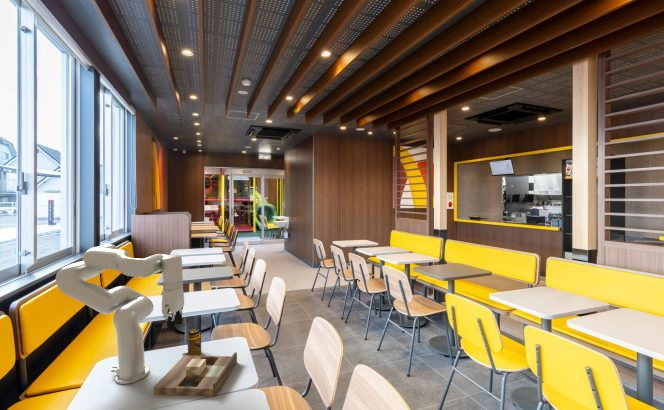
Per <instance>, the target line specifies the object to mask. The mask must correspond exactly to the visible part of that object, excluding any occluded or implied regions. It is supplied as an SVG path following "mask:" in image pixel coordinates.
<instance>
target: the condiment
mask: <svg viewBox="0 0 664 410" xmlns="http://www.w3.org/2000/svg"><path fill="white" fill-rule="evenodd" d="M200 331H201V330H200V329H199V328H191V329H189V330H188V331H187V351H186V352H184V353H181V355H182V357H183V356H184V355H192V356H204V353H203V351H202V335H201V332H200Z"/></svg>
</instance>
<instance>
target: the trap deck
mask: <svg viewBox="0 0 664 410" xmlns="http://www.w3.org/2000/svg"><path fill="white" fill-rule="evenodd" d="M192 359H206V368H205V369H204V370H203V372H202V373H201V374H200V375H186V366H187V364H188V363H189V362H190V361H191V360H192ZM237 364H238V352H237V351H235V352H234V353H233V354H232V355H231V356H230V355H229V356H228V355H227V356H226V355H224V356H223V355H203V356H192V355H184V356H183V355H182V357H181V358H180V359H179V360H178V362H176V364H174V365H173V366H172V367H171V368H170V369H169V371H168V372H167V373H166V374H165V375H164V376H163V377H162V378H161V379H160V380H159V381H158V382H157V383H156V384H155V385H154V386H153V395H154V396H157V395H158V396H181V397H182V396H185V397H186V396H187V397H189V396H190V397H193V396H194V397H217V395H218V394H219V392H220V391H221V389H222V388H223V386H224V385H225V383H226V381H227V380H228V379H229V376H231V373H232V371H233V370H234V369H235V367H236V365H237Z"/></svg>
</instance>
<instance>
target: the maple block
mask: <svg viewBox="0 0 664 410" xmlns="http://www.w3.org/2000/svg"><path fill="white" fill-rule="evenodd" d="M205 368H206V359H192V360H191V361H190V362H189V363H188V364H187V366H186V375H200V374H201V373H202V372H203V370H204V369H205Z"/></svg>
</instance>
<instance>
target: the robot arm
mask: <svg viewBox="0 0 664 410" xmlns="http://www.w3.org/2000/svg"><path fill="white" fill-rule="evenodd" d="M105 270H112V271H113V270H114V271H119V273H121V274H123V275H124V276H126V277H127V276H128V277H132V278H135V277H136V278H149V277H151V276H153V275H155V274H158V273H160V272H162V295H161V314H163V316H162V318H163V319H165V321H166V326H167V327H166V330H167V331H175V330H176V325H182V324H183V309H184V306H185V294H184V293H185V292H184V280H183V278H184V277H183V259H182V256H181V255H179V254H164V253H156V254H153V255H149V256H148V257H144V258H135V257H134V258H133V257H130V253H129V251H127V250H125V249H119V248H118V247H117V246H116V245H114V244H111V243H107V244H103V245H99V246H94V247H91V248H89V249H87V250H86V251H85V252H84V254H83V255H82V260H81V261H77V262H74V263H71V264H68V265H66V266H64V267H61V268H60V269H59V270H58V271H57V272H56V274H55V275H56V276H55V284H56V285H57V288H58V289H59V290H60V292H61V293H62V294H64V295H66V296H68V297H69V298H71V299H74V300H76V301H78V302H80V303H82V304H84V305H85V306H87V307H89V308H91V309H93V311H94V310H95V311H96V312H98V313H99V314H102V315H110V314H112V313H114V314H113V318H112V321H113V322H112V323H113V325H114V328H115V335H116V343H117V344H116V345H117V361H118V364H113V365H112V368H111V370H110V372H111V373H116V375H115V376H114V381H115V383H117V384H119V385H128V384H129V385H130V384H132V383H135V382H139V381H140V380H142V379H144V378H145V377H146V376H147V375H148V374H149V372H150V368H149V366H147V365H146V364H145V362H146V361H145V347H144V345H145V344H144V332H143V330H142V327H141V325H140V322H141V321H143V320H144V319H146V318H147V317H149V316H150V315H151V314H152V313H153V311H154V307H155V306H154V303H153V301H152V300H151V299H150V298H149V297H148V296H146V295H144V294H142V293H140V292H138V291H137V290H135V289H134V288H132V287H129V286H126V285H119V286H116V287H112V288H111V289H107V288H104V287H102V286H100V285H98V284H97V283H93V282H89V281H87V280H89V279H92V278H95V277H97V276H99V275H100V274H102V272H104V271H105Z"/></svg>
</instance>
